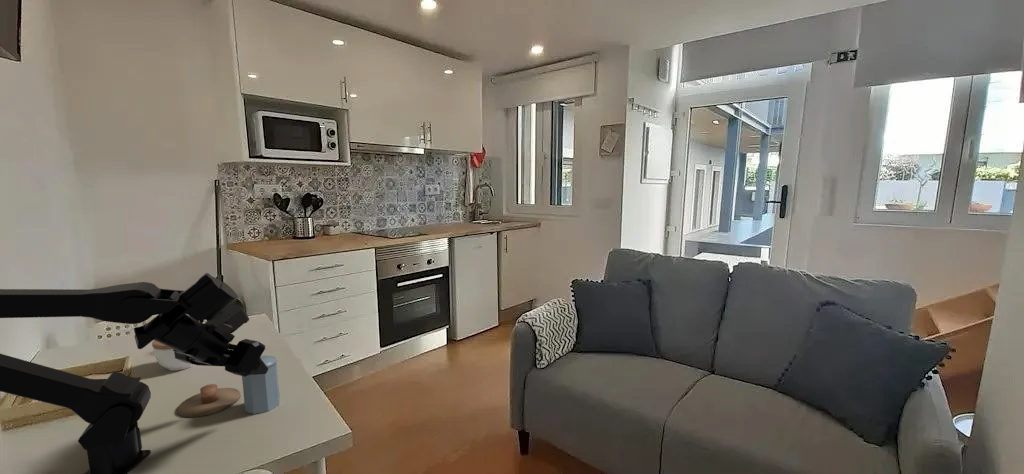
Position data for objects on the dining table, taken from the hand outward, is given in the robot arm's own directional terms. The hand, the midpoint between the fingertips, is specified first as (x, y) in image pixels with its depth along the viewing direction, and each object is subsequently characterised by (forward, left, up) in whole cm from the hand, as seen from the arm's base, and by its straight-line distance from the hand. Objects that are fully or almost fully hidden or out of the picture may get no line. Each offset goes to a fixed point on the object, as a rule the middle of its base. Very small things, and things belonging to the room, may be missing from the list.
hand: (250, 367), depth 87 cm
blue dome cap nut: (+2, -1, -10) cm, 10 cm away
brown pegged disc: (+4, +11, -10) cm, 15 cm away
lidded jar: (+24, +30, -10) cm, 40 cm away
